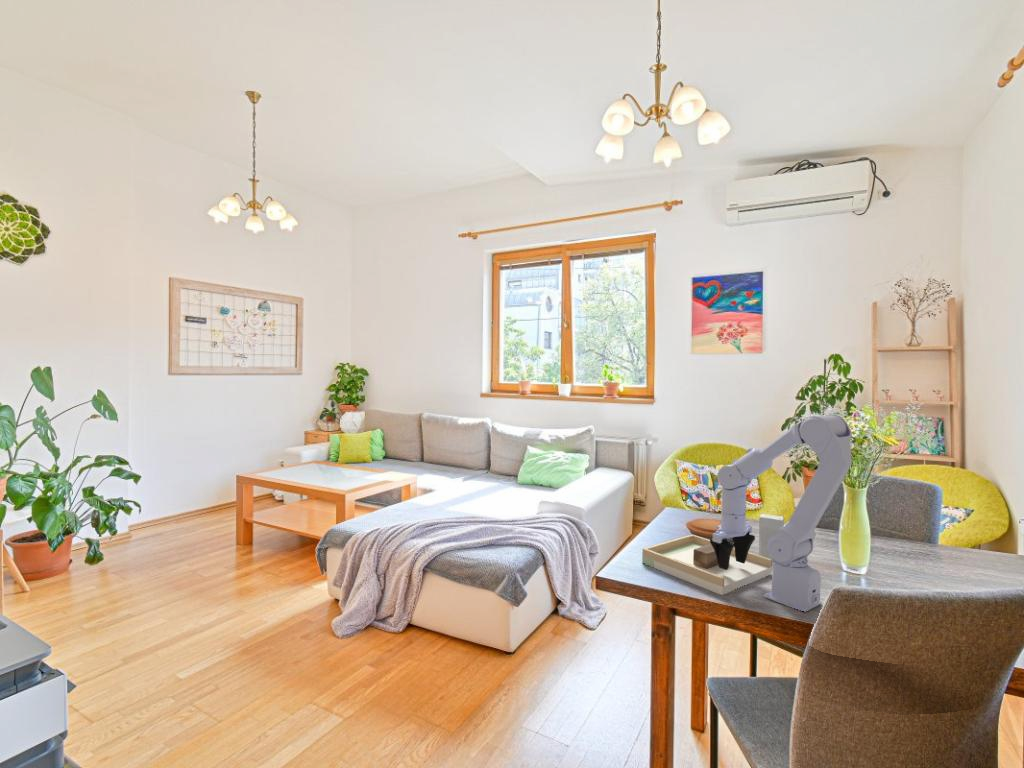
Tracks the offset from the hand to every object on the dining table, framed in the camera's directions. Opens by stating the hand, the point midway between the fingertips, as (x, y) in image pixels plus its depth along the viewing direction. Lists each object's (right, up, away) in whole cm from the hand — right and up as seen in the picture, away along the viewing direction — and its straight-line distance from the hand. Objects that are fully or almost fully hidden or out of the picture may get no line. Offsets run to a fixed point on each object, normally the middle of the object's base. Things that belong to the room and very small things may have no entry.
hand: (732, 565), depth 131 cm
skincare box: (+17, -3, +14) cm, 22 cm away
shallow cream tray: (-4, -3, +6) cm, 8 cm away
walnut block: (-4, -1, +5) cm, 6 cm away
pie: (+7, -3, +32) cm, 33 cm away
